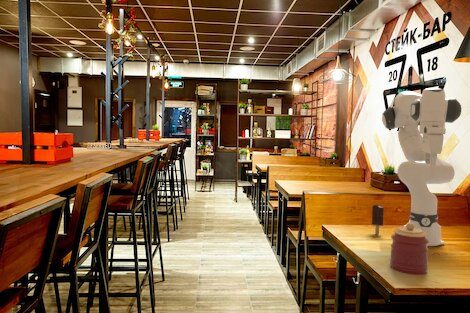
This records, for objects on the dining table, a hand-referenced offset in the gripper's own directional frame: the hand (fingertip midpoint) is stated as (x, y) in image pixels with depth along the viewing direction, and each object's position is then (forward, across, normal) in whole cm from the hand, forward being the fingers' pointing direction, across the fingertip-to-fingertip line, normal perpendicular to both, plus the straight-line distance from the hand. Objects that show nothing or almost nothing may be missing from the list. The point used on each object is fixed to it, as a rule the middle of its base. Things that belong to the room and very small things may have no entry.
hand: (430, 164), depth 153 cm
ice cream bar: (+39, -39, -16) cm, 58 cm away
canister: (+39, +12, -8) cm, 42 cm away
